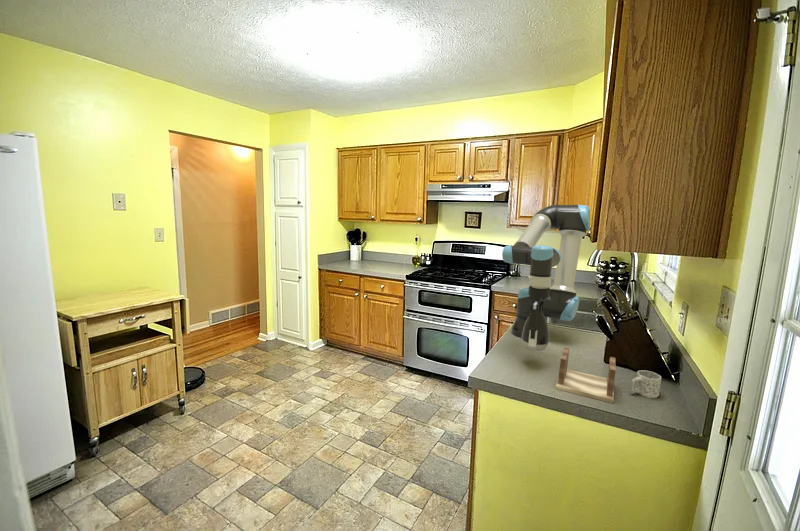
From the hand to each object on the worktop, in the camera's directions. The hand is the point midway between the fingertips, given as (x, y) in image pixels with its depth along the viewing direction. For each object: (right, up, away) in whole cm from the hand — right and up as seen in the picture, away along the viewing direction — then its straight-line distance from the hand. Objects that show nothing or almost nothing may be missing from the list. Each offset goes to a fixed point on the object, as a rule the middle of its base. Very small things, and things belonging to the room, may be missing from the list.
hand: (534, 341), depth 139 cm
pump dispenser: (0, -3, +1) cm, 3 cm away
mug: (+29, -14, -19) cm, 37 cm away
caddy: (+12, -12, -15) cm, 23 cm away
